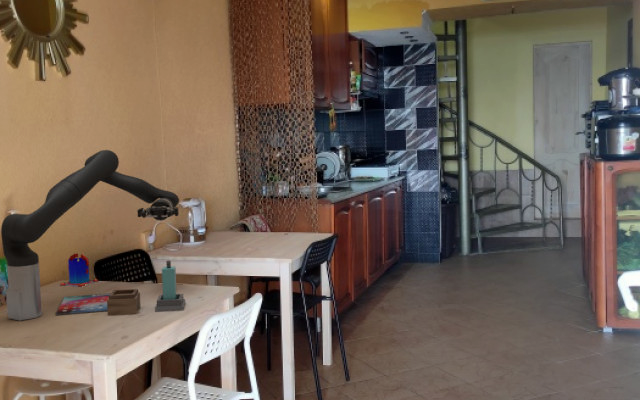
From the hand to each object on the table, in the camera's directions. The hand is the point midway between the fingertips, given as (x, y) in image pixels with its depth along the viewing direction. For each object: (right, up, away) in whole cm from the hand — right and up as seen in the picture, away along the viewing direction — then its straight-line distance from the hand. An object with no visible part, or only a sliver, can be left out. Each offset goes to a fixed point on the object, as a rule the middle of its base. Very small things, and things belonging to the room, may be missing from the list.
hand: (156, 214), depth 224 cm
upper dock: (-7, -32, -12) cm, 35 cm away
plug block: (+7, -30, -9) cm, 32 cm away
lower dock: (+7, -31, -9) cm, 33 cm away
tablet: (-23, -31, -3) cm, 39 cm away
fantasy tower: (-37, -28, +28) cm, 54 cm away
